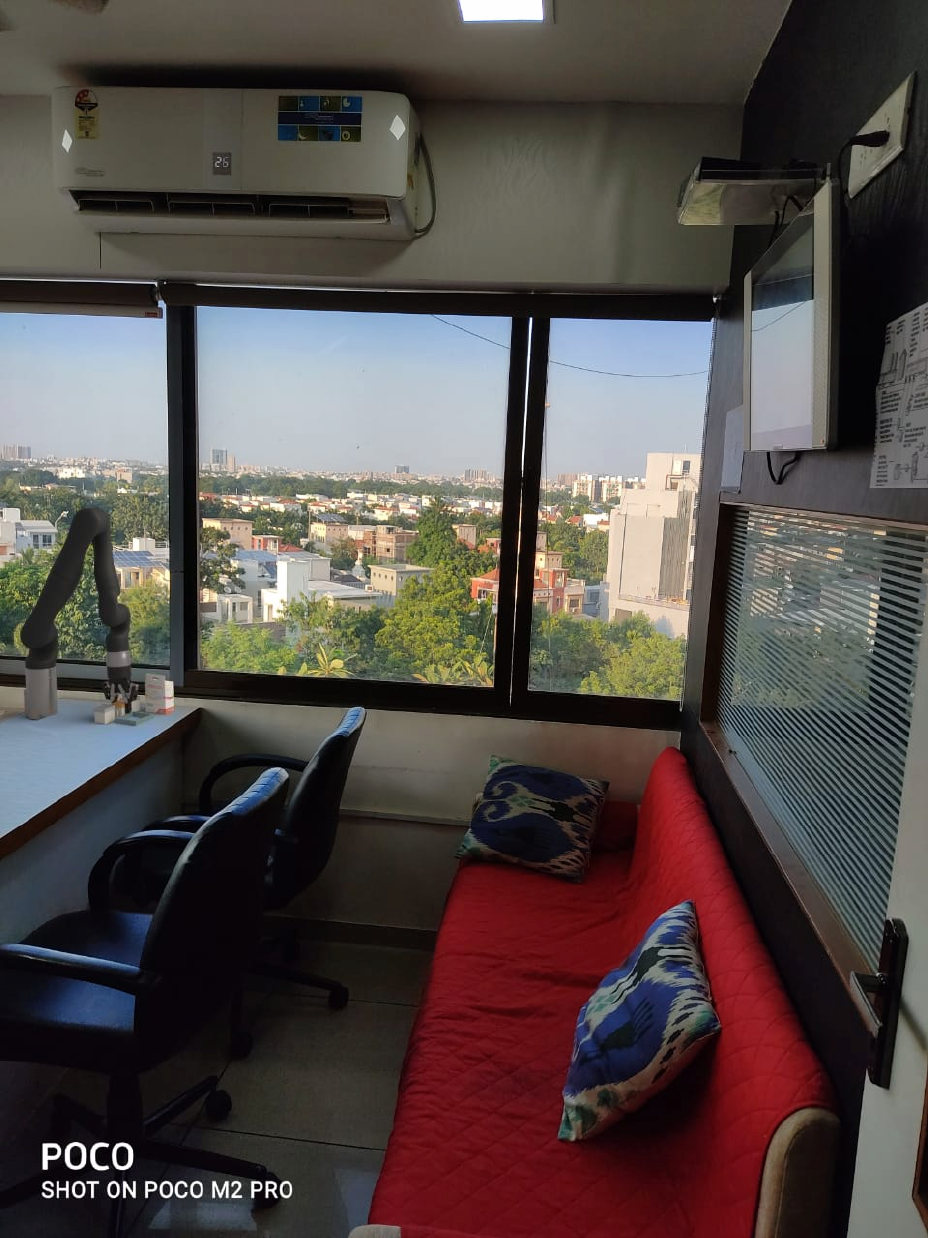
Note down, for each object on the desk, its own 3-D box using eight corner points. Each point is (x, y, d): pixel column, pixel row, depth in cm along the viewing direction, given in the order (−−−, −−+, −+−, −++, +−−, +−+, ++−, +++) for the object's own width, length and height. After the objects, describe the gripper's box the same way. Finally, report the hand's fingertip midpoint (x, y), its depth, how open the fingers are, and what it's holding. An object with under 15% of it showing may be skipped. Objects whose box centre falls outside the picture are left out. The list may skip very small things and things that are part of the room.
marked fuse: (111, 717, 281) (111, 703, 281) (121, 713, 286) (121, 699, 285) (122, 719, 280) (121, 704, 280) (132, 715, 285) (131, 701, 284)
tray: (114, 725, 277) (114, 718, 276) (132, 718, 285) (132, 711, 285) (136, 728, 275) (136, 721, 274) (153, 721, 283) (153, 714, 283)
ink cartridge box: (174, 713, 293) (174, 673, 290) (165, 717, 288) (165, 676, 285) (154, 710, 295) (153, 670, 293) (144, 714, 290) (144, 673, 288)
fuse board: (89, 725, 276) (89, 707, 275) (127, 710, 294) (126, 693, 293) (108, 727, 274) (107, 710, 273) (144, 712, 292) (144, 696, 291)
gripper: (93, 664, 278) (96, 714, 281) (129, 667, 275) (133, 717, 278) (108, 659, 286) (111, 708, 289) (144, 662, 282) (147, 711, 285)
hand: (122, 712), depth 283 cm, fingers closed on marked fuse, 4 cm apart
